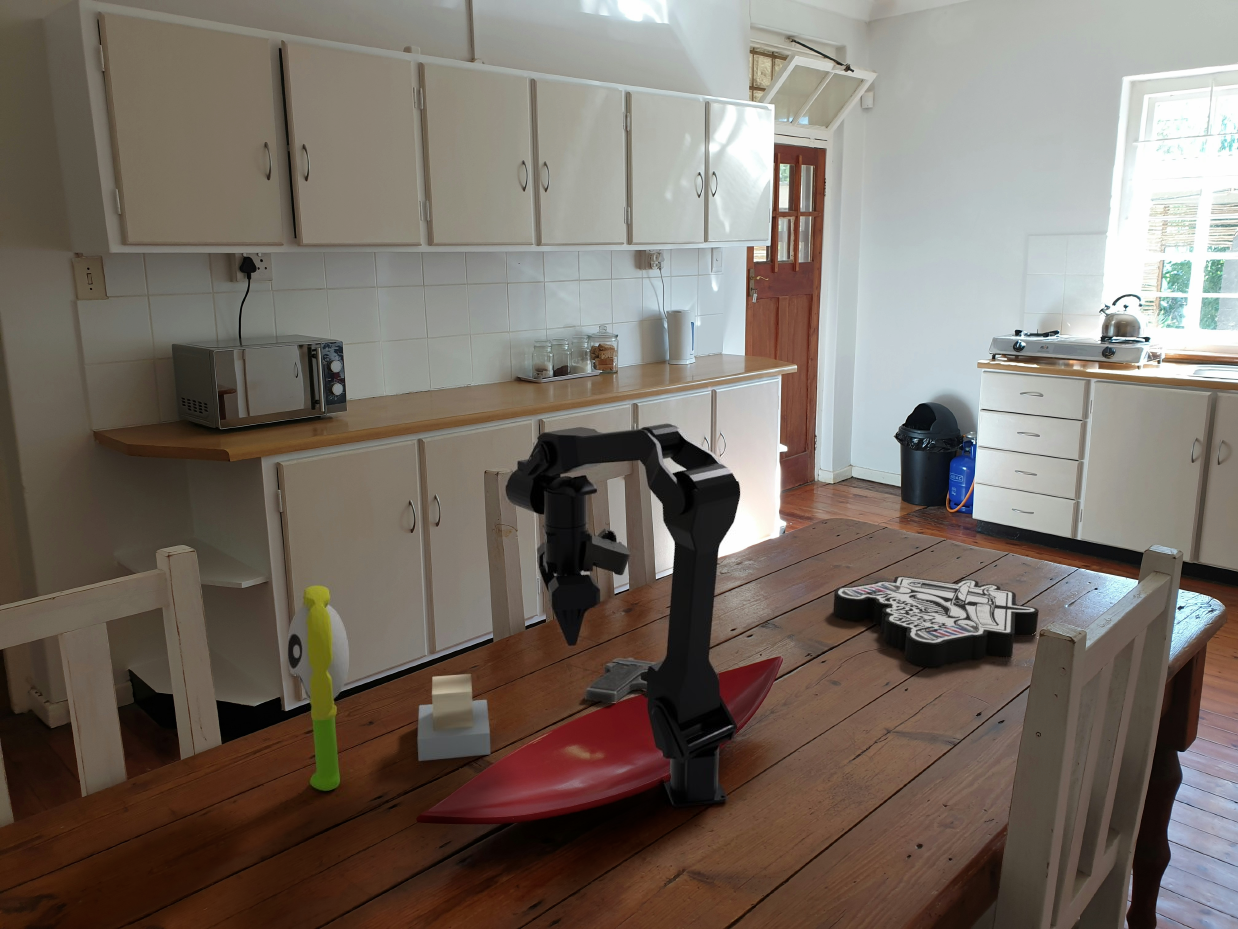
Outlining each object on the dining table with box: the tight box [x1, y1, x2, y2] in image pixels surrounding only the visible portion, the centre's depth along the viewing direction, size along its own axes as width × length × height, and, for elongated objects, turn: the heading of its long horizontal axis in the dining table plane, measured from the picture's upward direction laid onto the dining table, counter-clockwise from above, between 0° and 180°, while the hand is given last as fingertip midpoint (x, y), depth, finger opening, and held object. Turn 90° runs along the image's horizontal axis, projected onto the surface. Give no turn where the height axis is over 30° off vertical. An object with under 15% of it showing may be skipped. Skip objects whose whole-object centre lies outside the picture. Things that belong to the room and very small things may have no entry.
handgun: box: [584, 657, 719, 703], centre depth 135 cm, size 2×17×12 cm
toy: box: [286, 585, 350, 792], centre depth 108 cm, size 15×7×25 cm, turn 21°
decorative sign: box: [832, 575, 1040, 670], centre depth 158 cm, size 28×4×30 cm
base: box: [417, 699, 491, 762], centre depth 121 cm, size 9×9×3 cm
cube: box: [431, 673, 473, 730], centre depth 120 cm, size 5×5×5 cm
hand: (567, 631), depth 126 cm, fingers open, 9 cm apart
